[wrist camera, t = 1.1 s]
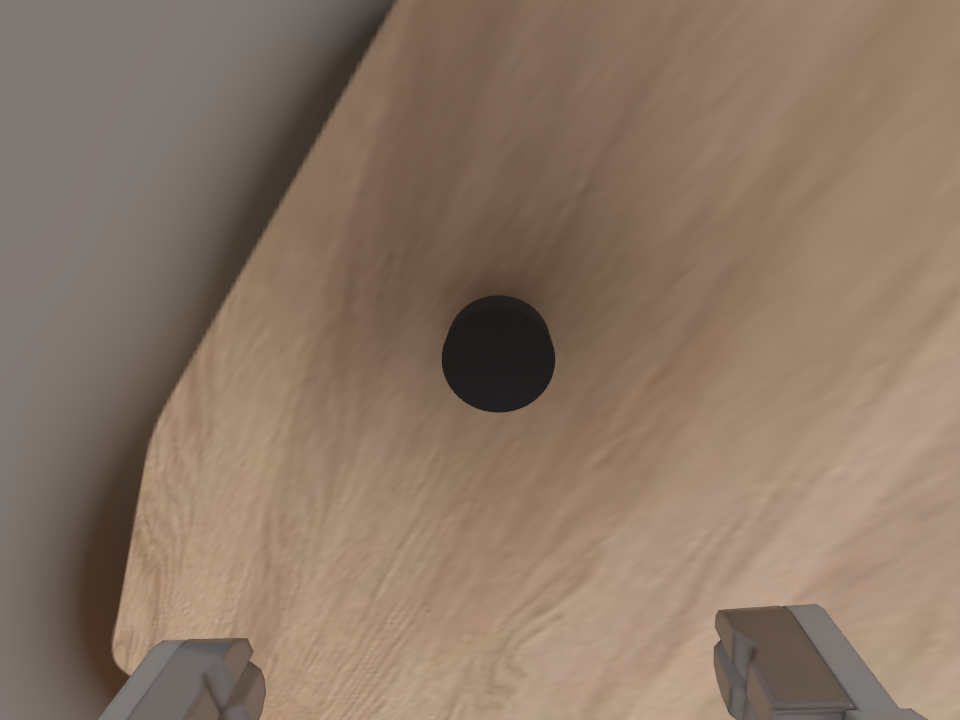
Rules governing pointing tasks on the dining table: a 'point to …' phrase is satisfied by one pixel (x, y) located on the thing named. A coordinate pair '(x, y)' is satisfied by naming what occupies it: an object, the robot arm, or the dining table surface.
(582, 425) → the dining table surface
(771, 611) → the robot arm
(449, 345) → the stopper
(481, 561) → the dining table surface
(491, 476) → the dining table surface
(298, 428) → the dining table surface
